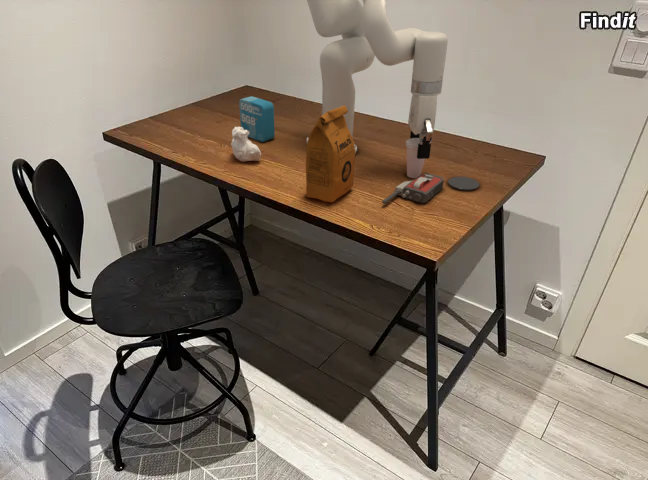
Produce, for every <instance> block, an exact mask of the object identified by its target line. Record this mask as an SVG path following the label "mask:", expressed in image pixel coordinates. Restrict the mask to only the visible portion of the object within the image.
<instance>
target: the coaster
mask: <svg viewBox="0 0 648 480" xmlns="http://www.w3.org/2000/svg"><path fill="white" fill-rule="evenodd" d="M447 185H448V186H449V188H451V189H452V190H455V191H459V192H473V191H476V190H479V188H480V183H479V181H478V180H476V179H474V178H471V177H468V176H453V177H451V178H449V179H448V180H447Z"/></svg>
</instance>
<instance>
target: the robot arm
mask: <svg viewBox="0 0 648 480" xmlns="http://www.w3.org/2000/svg"><path fill="white" fill-rule="evenodd" d="M361 1H362V2H361ZM361 1H360V0H306V2H307V5H308V9H309V11H310V15H311V19H312V22H313V25H314V28H315V30H316V31H315V32H317V34H318V36H319V37H320V36H321V37H323V38H333V37H337V36H341V38H342V39H337V40H335V41H331V42H330V43H328V44H327V45H326V46H325V47H324V48H323V49H322V51H321V53H320V56H319V68H320V74H321V82H322V83H321V85H322V86H321V87H322V91H321V92H322V93H321V95H322V97H321V99H322V101H321V116H322V115H323V114H325V113H326V112H327V111H331V110H334V109H336V108H339V107H341V106H346V108H347V110H348V112H347V113H346V114H344V115H343V116H344V117H345V121H346V124H347V128H348V129H349V131H350V133H351V136H352V138H353V139H354V123H355V107H356V106H355V105H356V86H355V84H354V80H353V74H355V73H360V72H363V71H365V70H367V69H368V68H370V67H371V66H372V65H373V63H374V61H375V58H376V59H377V60H378V61H379V62H380V64H382V65H384V66H389V67H392V66H397V65H398V64H402V63H405V62H409V61H413V64H412V74H411V84H410V94H412V95H411V98H410V108H409V112H408V121H407V124H408V127H409V129H410V134H409V135H410V136H409V139H411V138H419V140H420V143H418V150H417V158H418V159H425V160H426V159H427V160H428V159H429V158H430V156H431V149H432V148H431V147H432V140H433V137H432V136H433V133H434V131H435V125H436V117H437V108H438V107H437V105H438V95H441V94H442V88H443V81H444V74H445V73H444V72H445V65H446V59H447V50H448V42H449V41H448V40H449V38H448V36H447V34H446V33H444V32H440V31H425V30H423V29H419V28H414V27H407V28H402V29H399V30H394V28H393V26H392V24H391V22H390V19H389V17H388V14H387V0H361ZM422 131H423V132H422ZM308 139H309V136H307V137H306V145H308ZM354 146H355V154H357V152H358V147H357V145H356V144H355V143H354Z"/></svg>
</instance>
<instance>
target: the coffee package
mask: <svg viewBox="0 0 648 480" xmlns="http://www.w3.org/2000/svg"><path fill="white" fill-rule="evenodd" d="M347 112H348V110H347V108H346V106H341V107H339V108H336V109H334V110H331V111H327V112H326V113H325V114H323V115H322V114H321V115H320V116H319V117H318V119H317V121H316V123H315V125H314V127H313V128H312V130H311V131H310V134H309V136H308V137H309V139H308V144H306V145H307V146H306V157H305V159H306V160H305V181H306V182H305V183H306V184H305V185H306V188H305V193H306V194H305V195H306V197H307V198H308V199H317V200H320V201H322V202H326V203H333V202H335V201H336V200H337V199H339V198H340V197H342V196H344V195H346V193H348V192H349V191H350V190H351V189H352V188H353V187H354V183H355V182H354V180H355V162H356V153H355V146H354V144H355V142H354V137H353V138H352V136H351V133H350V131H349V129H348V128H347V124H346V121H345V117H344V116H343V115H344V114H346V113H347Z"/></svg>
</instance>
